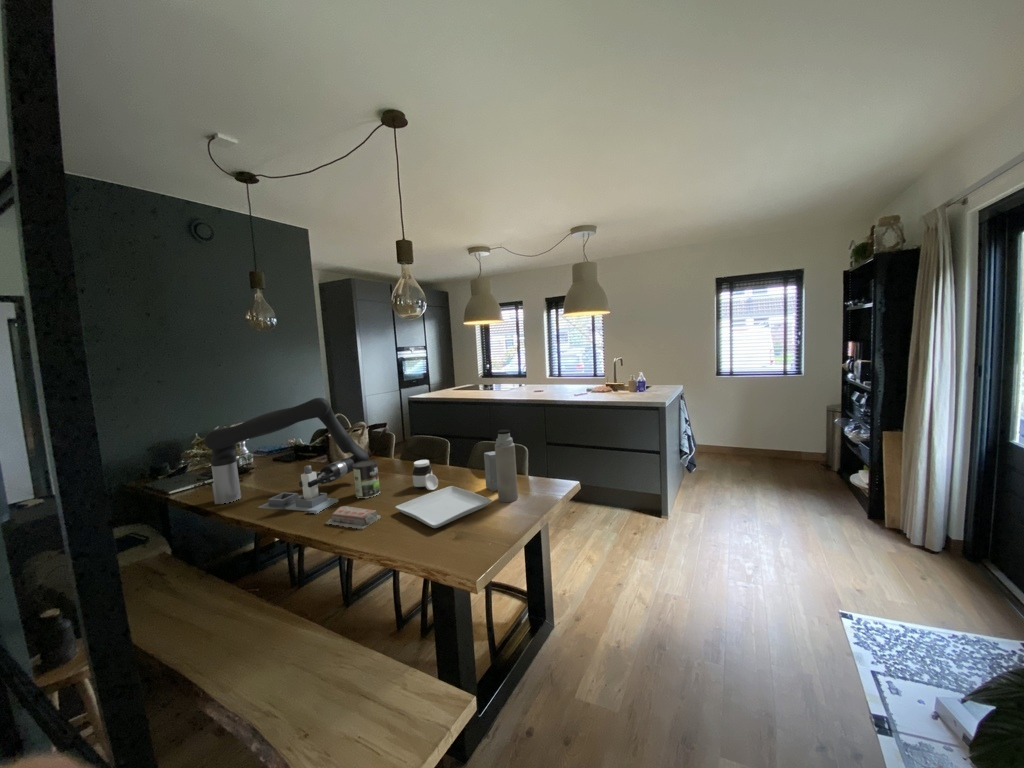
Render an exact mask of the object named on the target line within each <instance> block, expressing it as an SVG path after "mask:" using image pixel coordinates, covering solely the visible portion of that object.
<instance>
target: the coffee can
mask: <svg viewBox="0 0 1024 768" xmlns="http://www.w3.org/2000/svg"><path fill="white" fill-rule="evenodd" d="M352 467H353V471H352V472H353V479H354V480H353V482H354V490H355V497H357V499H359V498H365V499H370V498H369V497H371V498H373V496H374V497H376V495H377V496H379V495H380V494H381V489H380V479H379V469H378V467H379V466H378V461H377V460H375V459H374V460H373V459H371V460H370V459H369V460H367V461H361V462H358V463H355V464H353V465H352ZM379 493H380V494H379Z"/></svg>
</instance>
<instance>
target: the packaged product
mask: <svg viewBox="0 0 1024 768" xmlns="http://www.w3.org/2000/svg"><path fill="white" fill-rule="evenodd" d="M380 518H381V514H379V515H378V513H377V510H375V509H368V508H363V507H362V508H361V507H355V506H348V505H343V506H339V507H337V509H336V510H335V511H333V512H332V514H331V518H330V519H328V521H325V525H329V524H332V525H333V526H336V525H339V526H338V527H342V526H344V527H343V528H348V527H352V528H351V529H356V528H357V530H362V529H363V530H365V529H366V528H368V527H370V526H371V525H373V524H374V523H373V522H375V521H376V522H378V521H379V520H381V519H382V518H381V519H380ZM378 519H379V520H378ZM377 520H378V521H377ZM376 522H375V523H376ZM372 523H373V524H372ZM370 524H371V525H370ZM332 525H331V526H332ZM369 525H370V526H369ZM367 526H368V527H367ZM364 528H365V529H364Z"/></svg>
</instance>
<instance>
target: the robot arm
mask: <svg viewBox="0 0 1024 768" xmlns="http://www.w3.org/2000/svg"><path fill="white" fill-rule="evenodd" d="M317 418H318V420H319V421H320V422H321V423H322V424H323V425H324V426H325V427H326V429H327V430H328V432H329V434H330V436H331V438H332V440H333V441H334V443H335V444H336V445H337V447H338V448H339V449H340V451H341V453H343V454H348V453H349V454H352V455H351V456H349V457H346V458H343V459H340V460H337V461H335V462H331V463H329V464H327V465H324V466H323V467H322V468H321V469H320V471H318V472H317V471H316V475H317V478H316V479H315V480H312V481H310V482H308V487H312V486H315V485H318V486H319V485H325V484H328V483H332V482H334V481H336V480H339V479H341V478H342V477H344V476H345V475H348V474H350V473H352V472H353V467H352V465H353V464H355V463H358V462H361V461H367V460H370V455H369V454H368V452H367V451H366V450H365V449H363V447H361V446H360V445H359V444H357V443H356V442H355V440H354V439H353V438H352V436H351V435H350V434H349V433H348V432H347V430H346V429H345V427H344V426H343V425H342V424H341V423H340V421H339V418H337V416H336V414H335V413H334V410H333V409H332V407H331V405H330V402H329V401H328V400H327V399H326V398H323V397H314V398H312V399H310V400H308V401H305V402H303V403H300V404H298V405H295V406H291V407H286V408H281V409H278V410H273V411H270V412H267V413H263V414H259V415H258V416H255V417H253V418H251V419H247V420H245V421H244V422H242V423H239V424H237V425H233V426H230V427H227V426H220V427H217V428H215V429H213V430H210V431H209V432H208V433H207V434H206V435H205V437H204V440H203V441H204V446H205V447H206V448H207V449H210V450H211V451H212V454H211V458H210V467H211V472H212V479H213V480H212V481H213V482H212V483H211V486H212V493H213V500H214V501H213V502H214V505H225V504H224V503H226V504H230V503H229V502H231V503H234V502H236V500H237V501H238V499H239V500H240V499H241V498H242V492H241V486H240V479H239V477H240V476H239V471H238V465H237V464H238V463H237V443H240V442H243V441H246V440H251V439H254V438H258V437H262V436H266V435H270V434H272V433H277V432H279V431H281V430H284V429H286V428H289V427H292V426H293V425H295V424H297V423H299V422H303V421H307V420H313V419H317ZM298 484H299V488H302V487H303V486H302V480H300V481H299V482H298ZM233 501H234V502H233Z"/></svg>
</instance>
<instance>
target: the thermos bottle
mask: <svg viewBox="0 0 1024 768" xmlns="http://www.w3.org/2000/svg"><path fill="white" fill-rule="evenodd" d="M494 451H495V458H496V472H497V486H498V490H497V498H498V499H497V500H498V501H500V502H502V503H511V502H515V501H517V500H518V499H519V490H518V475H517V474H518V473H517V462H516V447H515V443H514V441H513V437H511V430H510V429H500V430H498V431H497V438H496V439H495V444H494Z"/></svg>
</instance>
